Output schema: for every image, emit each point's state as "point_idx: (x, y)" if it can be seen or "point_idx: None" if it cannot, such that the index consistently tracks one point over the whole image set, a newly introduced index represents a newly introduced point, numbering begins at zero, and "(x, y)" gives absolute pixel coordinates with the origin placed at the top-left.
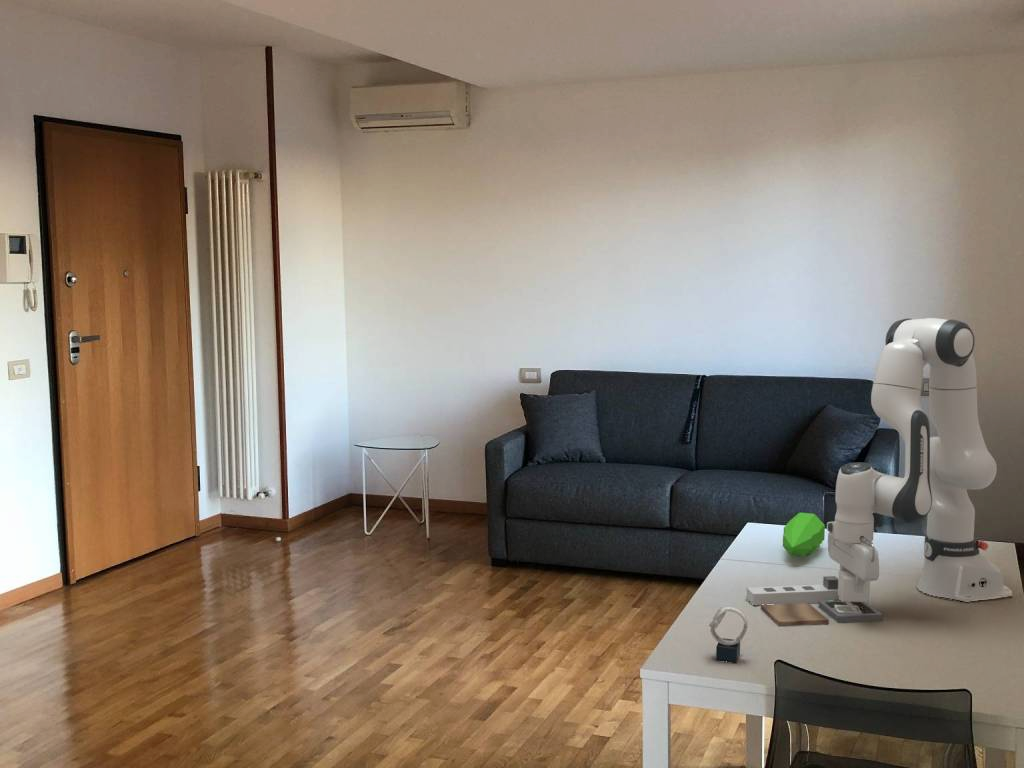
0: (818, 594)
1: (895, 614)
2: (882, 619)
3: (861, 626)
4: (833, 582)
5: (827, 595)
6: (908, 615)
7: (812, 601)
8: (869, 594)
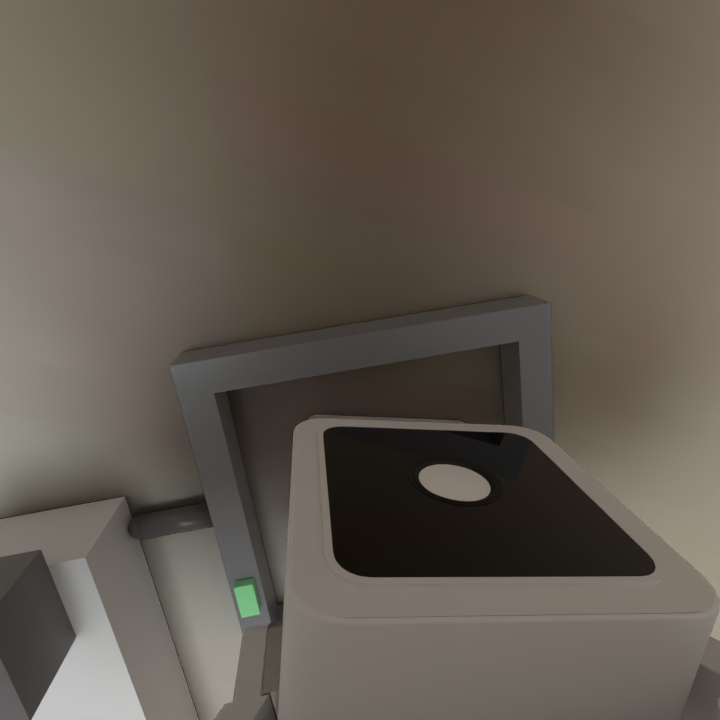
0: (147, 678)
1: (393, 138)
2: (531, 296)
3: (613, 459)
4: (27, 654)
5: (131, 611)
6: (420, 23)
7: (173, 665)
8: (585, 470)
